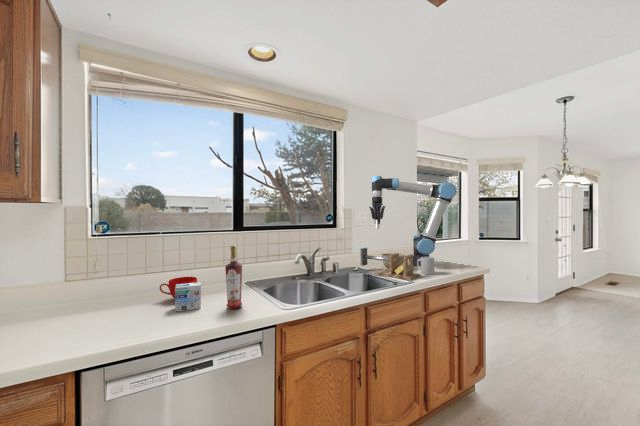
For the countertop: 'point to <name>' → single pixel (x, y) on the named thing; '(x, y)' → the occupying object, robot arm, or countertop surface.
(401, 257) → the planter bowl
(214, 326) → the countertop surface
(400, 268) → the collar
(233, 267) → the liquor
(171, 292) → the ceramic cup
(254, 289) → the countertop surface
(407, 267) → the bearing block
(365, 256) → the shaft
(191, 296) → the light bulb box
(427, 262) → the mug
